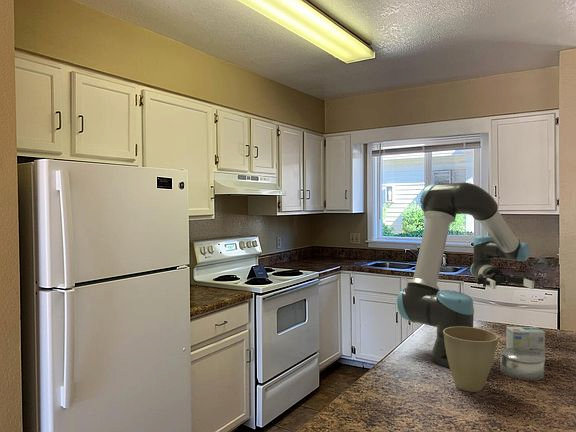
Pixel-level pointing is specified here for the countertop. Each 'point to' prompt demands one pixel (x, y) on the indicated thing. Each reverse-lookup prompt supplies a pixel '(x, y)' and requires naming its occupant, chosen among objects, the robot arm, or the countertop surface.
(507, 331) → the light bulb box
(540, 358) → the cookie tin
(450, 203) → the robot arm
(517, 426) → the countertop surface
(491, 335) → the plant pot
